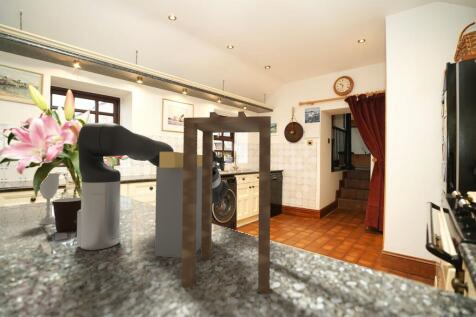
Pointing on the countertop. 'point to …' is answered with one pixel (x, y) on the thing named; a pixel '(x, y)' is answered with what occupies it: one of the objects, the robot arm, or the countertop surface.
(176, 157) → the yellow bar
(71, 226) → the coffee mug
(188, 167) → the stool
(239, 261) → the countertop surface
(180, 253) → the block
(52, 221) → the chalice
